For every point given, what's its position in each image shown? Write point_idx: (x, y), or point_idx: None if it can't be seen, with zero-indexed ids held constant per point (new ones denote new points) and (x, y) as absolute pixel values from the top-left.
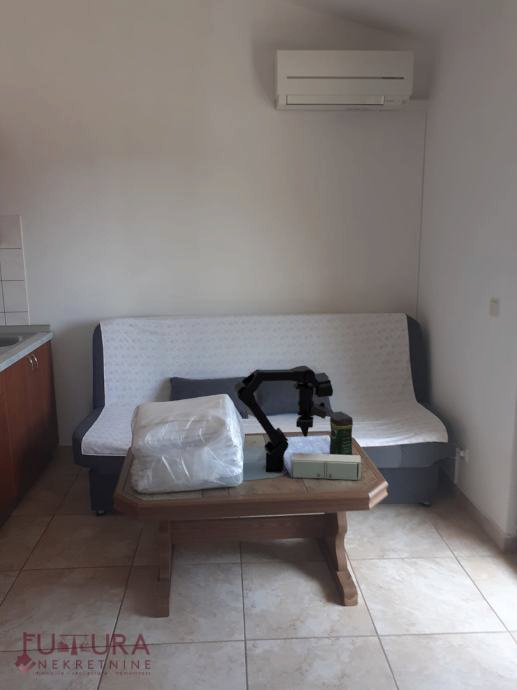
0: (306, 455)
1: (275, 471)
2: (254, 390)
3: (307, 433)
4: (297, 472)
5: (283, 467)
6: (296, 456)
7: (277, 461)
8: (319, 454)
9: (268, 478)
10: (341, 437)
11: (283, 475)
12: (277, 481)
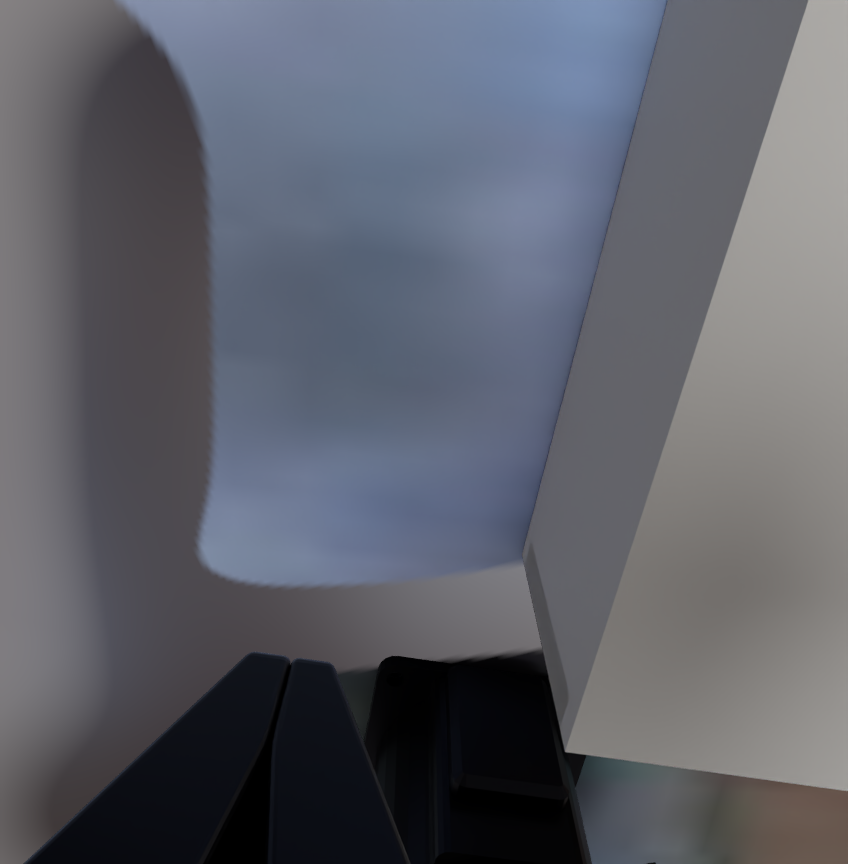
0: (765, 505)
1: (583, 757)
2: None
3: (371, 766)
4: None
5: (543, 690)
6: (759, 696)
7: (585, 848)
8: (790, 176)
9: (718, 817)
10: None
11: None
12: None
